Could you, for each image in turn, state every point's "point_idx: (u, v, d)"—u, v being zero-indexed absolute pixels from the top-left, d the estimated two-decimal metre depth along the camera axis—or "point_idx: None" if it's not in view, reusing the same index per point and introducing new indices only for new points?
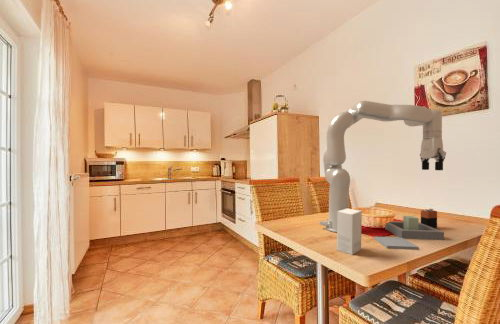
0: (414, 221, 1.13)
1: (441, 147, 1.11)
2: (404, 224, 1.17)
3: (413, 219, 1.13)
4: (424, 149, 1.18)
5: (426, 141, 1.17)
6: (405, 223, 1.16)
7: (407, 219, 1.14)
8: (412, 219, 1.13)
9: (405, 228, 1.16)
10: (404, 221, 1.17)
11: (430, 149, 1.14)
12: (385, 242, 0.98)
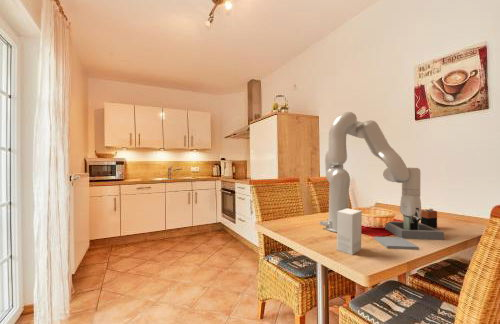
0: None
1: (419, 207, 1.10)
2: (404, 224, 1.17)
3: None
4: (403, 205, 1.17)
5: (405, 198, 1.16)
6: (405, 223, 1.16)
7: (407, 219, 1.14)
8: None
9: (405, 228, 1.16)
10: (404, 220, 1.17)
11: (408, 208, 1.12)
12: (385, 242, 0.98)
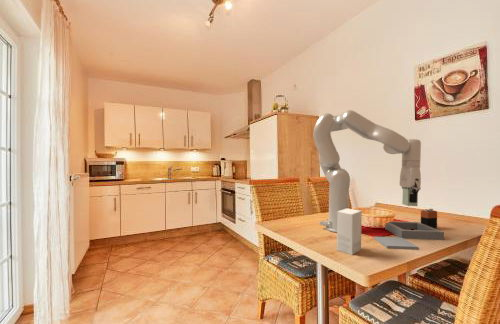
0: None
1: (419, 177, 1.10)
2: (403, 196, 1.17)
3: None
4: (403, 178, 1.17)
5: (404, 170, 1.16)
6: (404, 195, 1.16)
7: (406, 190, 1.14)
8: None
9: (404, 200, 1.16)
10: (403, 193, 1.17)
11: (408, 179, 1.13)
12: (385, 242, 0.98)
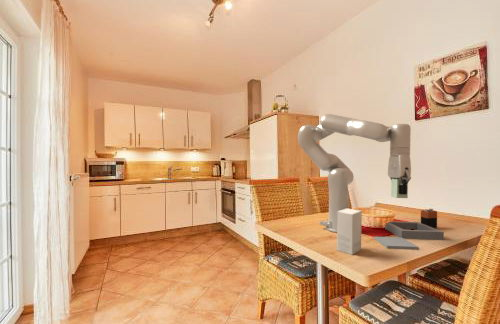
0: None
1: (409, 166, 0.99)
2: (392, 188, 1.05)
3: None
4: (391, 167, 1.05)
5: (393, 159, 1.04)
6: (393, 186, 1.04)
7: (395, 181, 1.03)
8: None
9: (393, 192, 1.04)
10: (392, 184, 1.06)
11: (397, 168, 1.01)
12: (385, 242, 0.98)
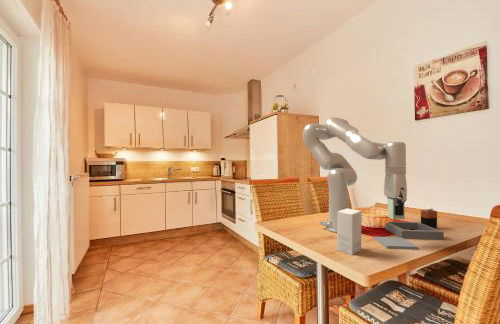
0: None
1: (404, 186, 0.95)
2: (388, 208, 1.01)
3: (398, 201, 0.97)
4: (387, 186, 1.01)
5: (388, 178, 1.00)
6: (389, 206, 1.00)
7: (391, 201, 0.99)
8: None
9: (389, 212, 1.00)
10: (388, 204, 1.01)
11: (392, 188, 0.97)
12: (385, 242, 0.98)
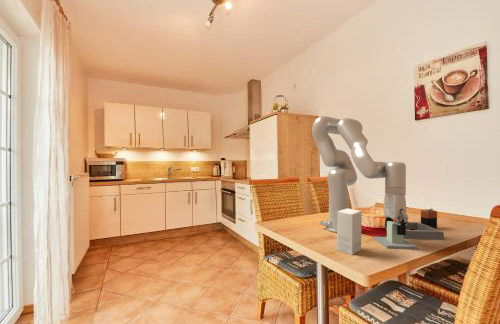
0: None
1: (404, 207, 0.95)
2: (388, 231, 1.01)
3: None
4: (386, 206, 1.01)
5: (388, 198, 1.00)
6: (388, 229, 1.00)
7: (390, 225, 0.99)
8: (396, 225, 0.98)
9: (388, 235, 1.00)
10: (387, 227, 1.02)
11: (392, 208, 0.97)
12: (385, 242, 0.98)
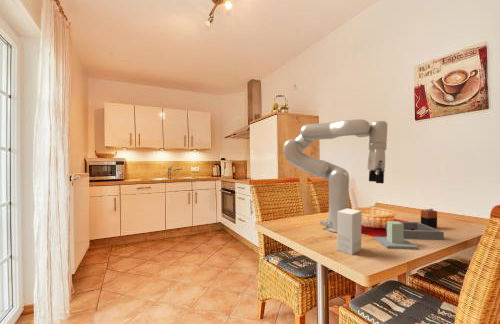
0: (398, 227, 0.97)
1: (383, 159, 1.08)
2: (388, 231, 1.01)
3: (397, 225, 0.97)
4: (369, 160, 1.15)
5: (371, 153, 1.14)
6: (388, 229, 1.00)
7: (390, 225, 0.99)
8: (396, 225, 0.98)
9: (388, 235, 1.00)
10: (387, 227, 1.02)
11: (373, 161, 1.11)
12: (385, 242, 0.98)
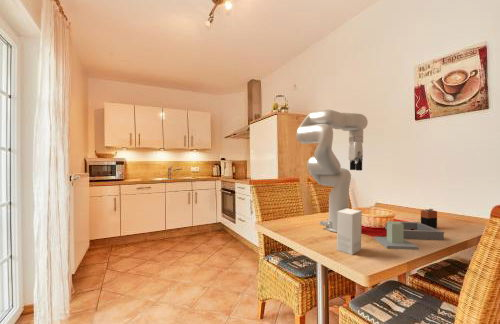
0: (398, 227, 0.97)
1: (361, 150, 1.30)
2: (388, 231, 1.01)
3: (397, 225, 0.97)
4: (350, 152, 1.37)
5: (350, 145, 1.35)
6: (388, 229, 1.00)
7: (390, 225, 0.99)
8: (396, 225, 0.98)
9: (388, 235, 1.00)
10: (387, 227, 1.02)
11: (352, 152, 1.32)
12: (385, 242, 0.98)
